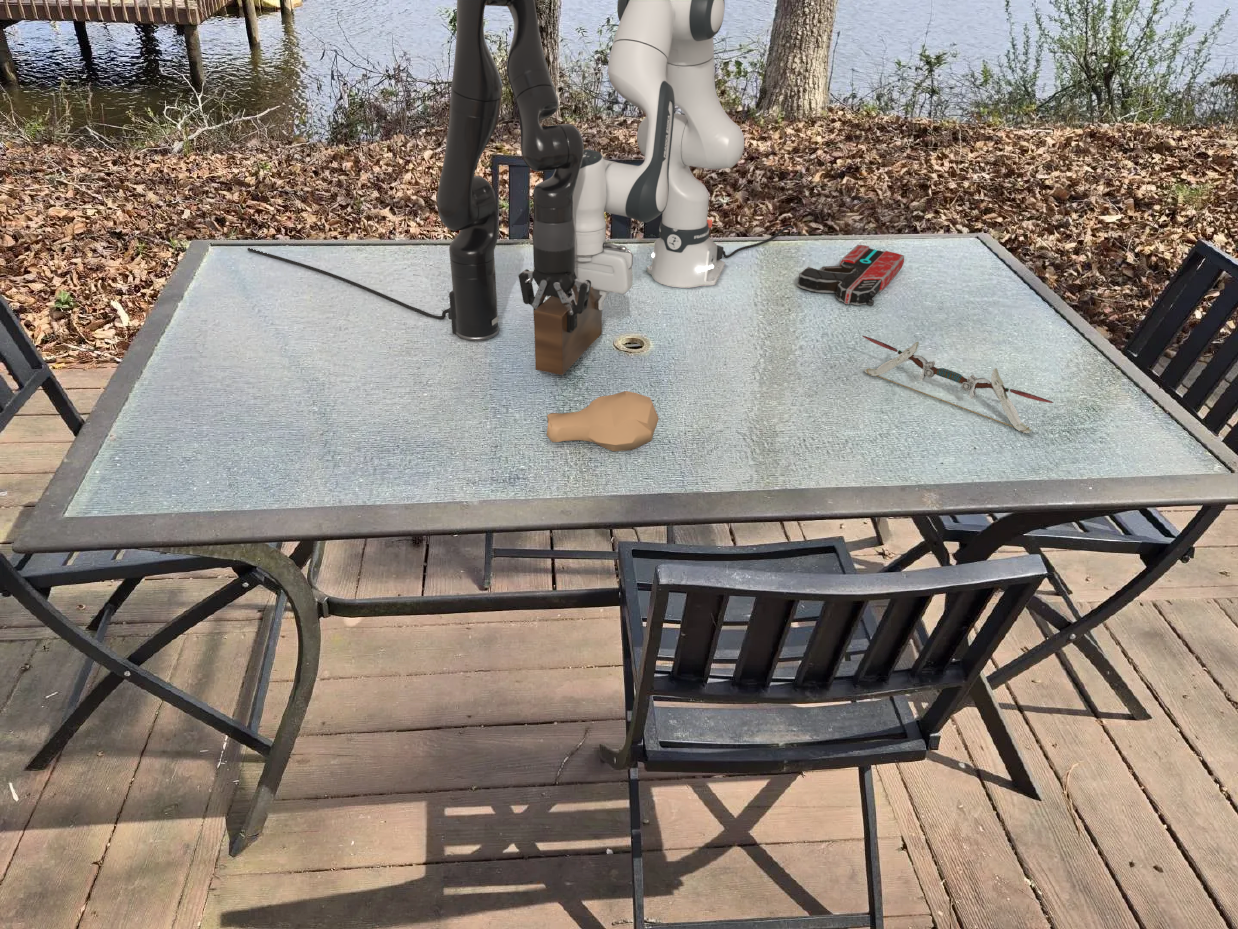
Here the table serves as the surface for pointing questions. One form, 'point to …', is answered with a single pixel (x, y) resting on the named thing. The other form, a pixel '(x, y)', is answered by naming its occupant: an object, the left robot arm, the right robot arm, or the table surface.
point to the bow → (967, 384)
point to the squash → (608, 422)
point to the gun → (854, 275)
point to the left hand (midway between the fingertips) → (555, 327)
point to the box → (564, 333)
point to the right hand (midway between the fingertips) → (582, 305)
